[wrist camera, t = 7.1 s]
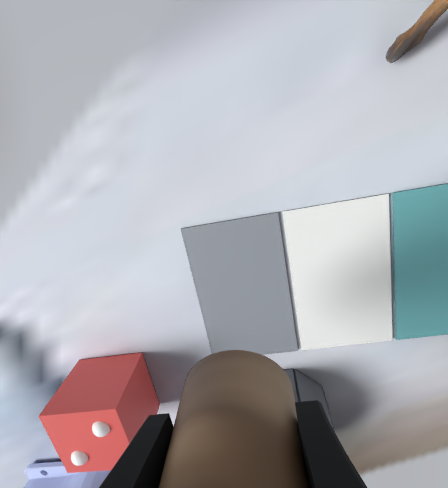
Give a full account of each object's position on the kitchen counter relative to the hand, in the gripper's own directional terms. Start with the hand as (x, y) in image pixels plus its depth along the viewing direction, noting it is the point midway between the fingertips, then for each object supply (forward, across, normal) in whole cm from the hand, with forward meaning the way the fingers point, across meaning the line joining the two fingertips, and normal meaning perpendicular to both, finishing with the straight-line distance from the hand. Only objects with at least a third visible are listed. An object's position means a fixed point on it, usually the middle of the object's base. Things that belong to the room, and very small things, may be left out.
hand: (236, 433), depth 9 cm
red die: (+8, +8, +5) cm, 13 cm away
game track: (+8, -5, 0) cm, 10 cm away
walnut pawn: (+1, 0, 0) cm, 1 cm away
